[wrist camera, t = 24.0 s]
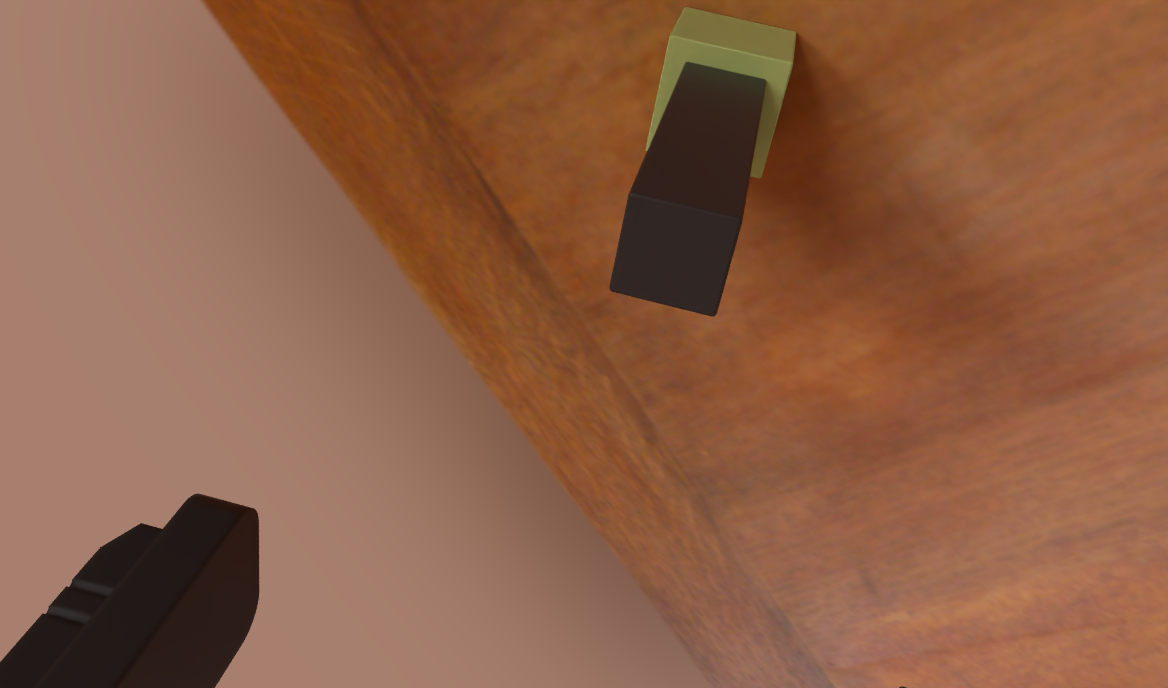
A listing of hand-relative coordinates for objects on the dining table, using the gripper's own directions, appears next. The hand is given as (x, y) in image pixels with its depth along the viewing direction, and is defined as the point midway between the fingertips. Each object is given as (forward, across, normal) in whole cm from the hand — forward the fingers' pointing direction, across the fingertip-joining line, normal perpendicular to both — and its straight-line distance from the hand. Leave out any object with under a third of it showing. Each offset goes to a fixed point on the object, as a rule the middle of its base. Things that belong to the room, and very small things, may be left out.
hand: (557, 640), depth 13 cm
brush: (+24, 0, 0) cm, 24 cm away
